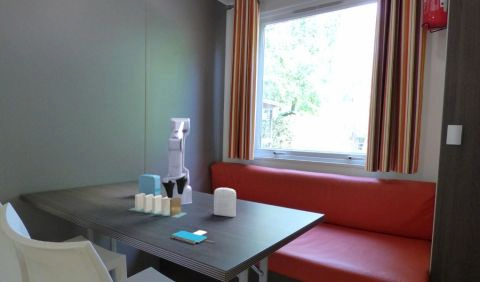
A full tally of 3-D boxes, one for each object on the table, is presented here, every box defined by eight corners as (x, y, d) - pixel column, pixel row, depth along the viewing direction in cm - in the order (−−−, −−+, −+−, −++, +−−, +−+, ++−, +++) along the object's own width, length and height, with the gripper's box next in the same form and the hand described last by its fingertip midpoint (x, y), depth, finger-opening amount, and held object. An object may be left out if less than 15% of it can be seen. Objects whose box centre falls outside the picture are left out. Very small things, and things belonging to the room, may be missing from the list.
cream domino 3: (152, 212, 134) (152, 197, 134) (159, 209, 138) (159, 195, 138) (155, 213, 133) (154, 197, 133) (162, 210, 138) (162, 195, 138)
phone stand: (225, 238, 107) (225, 233, 107) (204, 249, 97) (204, 244, 96) (183, 228, 117) (183, 223, 117) (161, 237, 107) (161, 232, 107)
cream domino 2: (143, 211, 136) (143, 196, 136) (150, 208, 140) (150, 194, 140) (146, 211, 135) (146, 196, 135) (153, 209, 140) (153, 194, 140)
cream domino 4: (161, 214, 132) (161, 198, 132) (168, 211, 137) (168, 196, 136) (164, 214, 131) (164, 199, 131) (170, 211, 136) (170, 196, 136)
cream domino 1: (135, 210, 138) (134, 195, 138) (142, 207, 142) (142, 193, 142) (137, 210, 137) (137, 195, 137) (145, 207, 142) (145, 193, 142)
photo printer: (237, 215, 133) (237, 187, 133) (234, 217, 129) (234, 189, 128) (215, 212, 136) (216, 186, 136) (212, 215, 132) (212, 188, 132)
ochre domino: (169, 215, 130) (169, 199, 130) (178, 212, 134) (178, 197, 134) (172, 215, 129) (172, 200, 129) (180, 213, 133) (180, 197, 133)
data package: (160, 196, 166) (160, 175, 166) (154, 198, 162) (154, 176, 162) (144, 194, 172) (144, 173, 171) (138, 195, 168) (138, 174, 167)
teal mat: (128, 210, 138) (128, 209, 138) (138, 206, 145) (138, 206, 145) (178, 218, 127) (178, 217, 127) (187, 214, 134) (187, 213, 134)
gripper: (177, 163, 139) (177, 191, 140) (157, 167, 126) (157, 198, 127) (190, 164, 136) (190, 193, 137) (170, 168, 123) (170, 200, 124)
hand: (175, 195), depth 132 cm, fingers open, 7 cm apart
